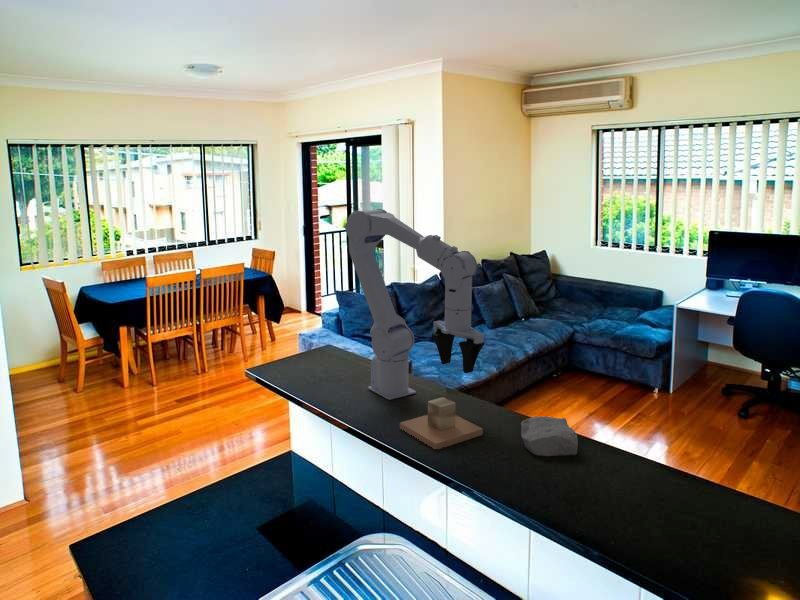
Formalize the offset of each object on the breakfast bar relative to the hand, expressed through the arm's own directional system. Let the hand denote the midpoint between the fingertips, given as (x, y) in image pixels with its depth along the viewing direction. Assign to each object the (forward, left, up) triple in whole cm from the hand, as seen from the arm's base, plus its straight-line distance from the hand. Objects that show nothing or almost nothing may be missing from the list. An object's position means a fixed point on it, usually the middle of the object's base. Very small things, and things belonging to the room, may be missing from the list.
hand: (456, 367), depth 133 cm
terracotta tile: (+8, -11, -10) cm, 17 cm away
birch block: (+8, -11, -8) cm, 16 cm away
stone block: (+24, +3, -10) cm, 26 cm away
